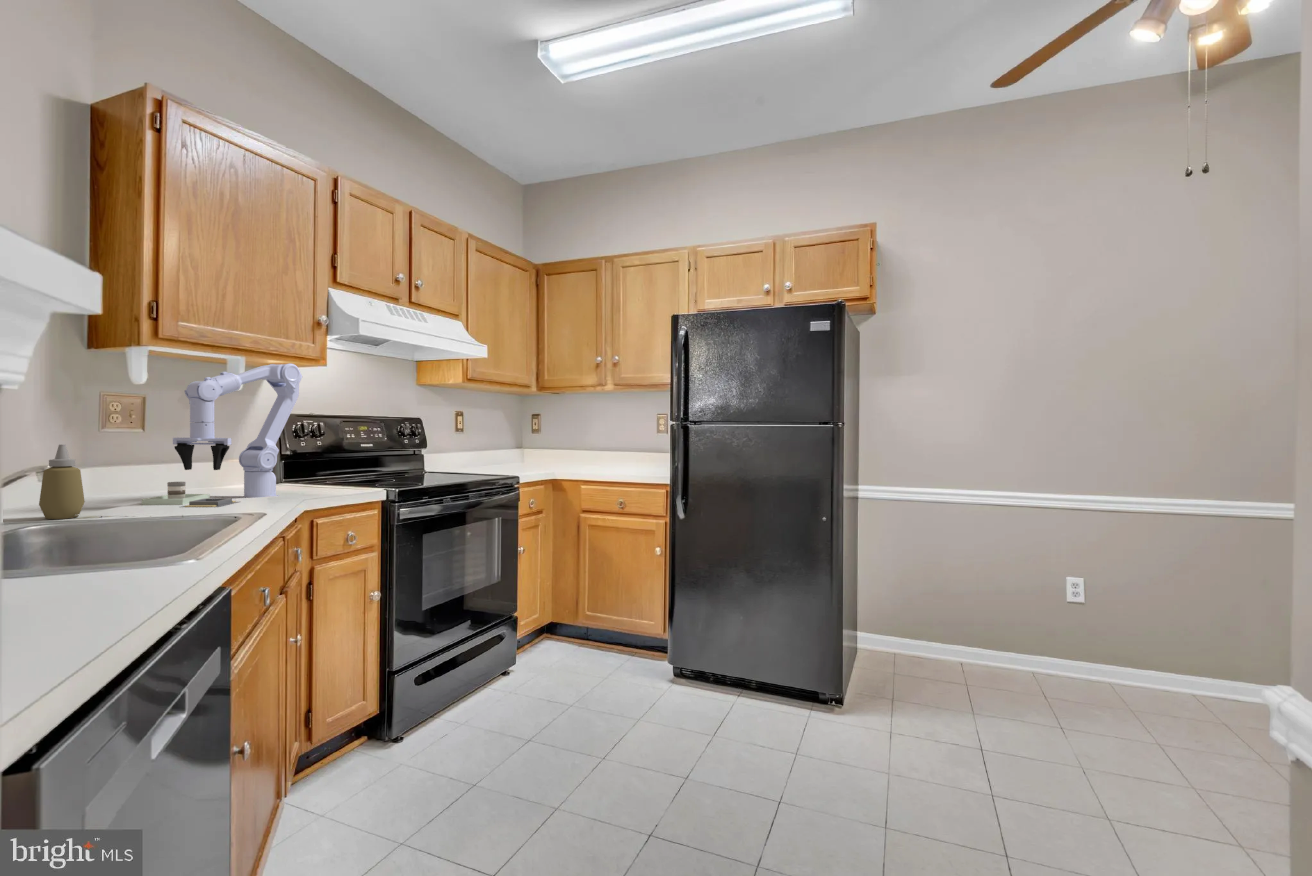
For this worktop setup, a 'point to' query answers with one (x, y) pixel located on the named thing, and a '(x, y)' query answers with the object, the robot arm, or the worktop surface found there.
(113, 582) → the worktop surface
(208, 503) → the fuse holder
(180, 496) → the cylinder
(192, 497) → the parts tray
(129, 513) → the worktop surface
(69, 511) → the squeeze bottle
